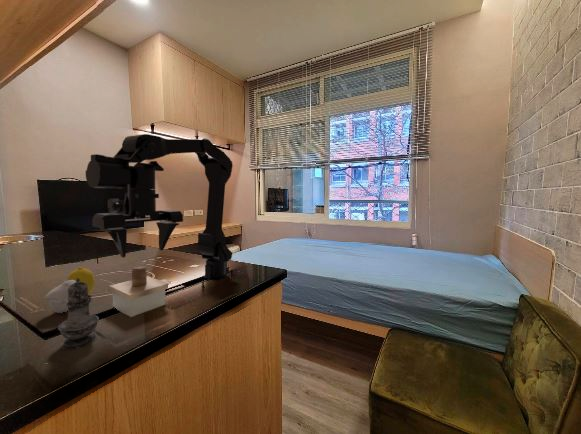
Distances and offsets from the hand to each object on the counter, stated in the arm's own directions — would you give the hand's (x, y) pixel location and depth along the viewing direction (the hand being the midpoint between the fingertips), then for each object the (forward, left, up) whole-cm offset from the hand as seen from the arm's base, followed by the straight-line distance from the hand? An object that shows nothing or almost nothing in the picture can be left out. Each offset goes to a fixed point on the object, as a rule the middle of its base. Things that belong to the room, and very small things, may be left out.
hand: (143, 253), depth 63 cm
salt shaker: (+15, +7, -13) cm, 21 cm away
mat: (-8, -6, -13) cm, 16 cm away
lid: (+2, +2, -8) cm, 9 cm away
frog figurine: (+12, -9, -13) cm, 20 cm away
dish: (+2, +2, -13) cm, 13 cm away
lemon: (+7, -15, -13) cm, 21 cm away
